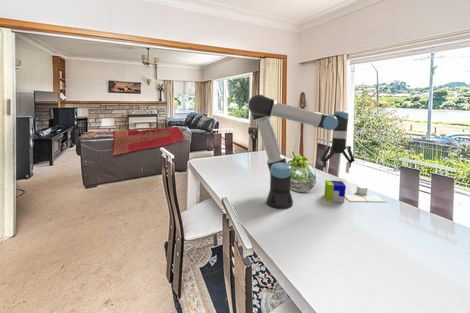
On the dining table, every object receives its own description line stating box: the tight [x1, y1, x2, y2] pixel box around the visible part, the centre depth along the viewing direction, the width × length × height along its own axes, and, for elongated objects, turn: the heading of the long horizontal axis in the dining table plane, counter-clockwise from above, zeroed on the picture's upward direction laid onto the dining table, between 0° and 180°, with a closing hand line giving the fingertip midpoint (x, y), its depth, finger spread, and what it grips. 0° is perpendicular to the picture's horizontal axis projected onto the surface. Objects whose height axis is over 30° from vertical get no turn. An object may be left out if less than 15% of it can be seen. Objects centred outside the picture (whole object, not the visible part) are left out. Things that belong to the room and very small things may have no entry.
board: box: [345, 194, 387, 203], centre depth 157 cm, size 22×11×1 cm, turn 89°
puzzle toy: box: [324, 180, 347, 203], centre depth 157 cm, size 10×10×10 cm
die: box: [356, 185, 368, 195], centre depth 166 cm, size 5×5×5 cm
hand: (336, 172), depth 154 cm, fingers open, 12 cm apart
